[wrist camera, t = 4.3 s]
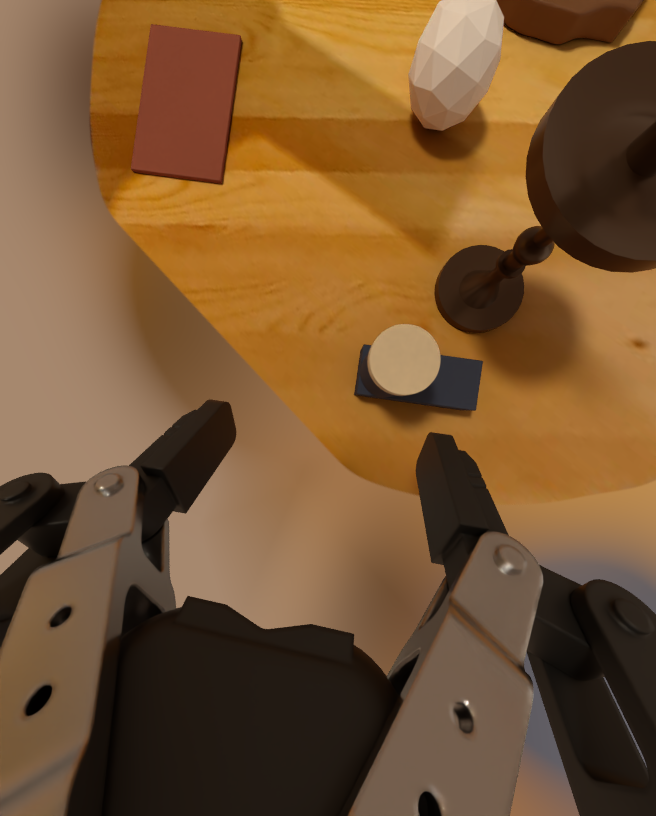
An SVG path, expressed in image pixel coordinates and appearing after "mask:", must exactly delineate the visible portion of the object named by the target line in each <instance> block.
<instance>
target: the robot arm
mask: <svg viewBox="0 0 656 816" xmlns="http://www.w3.org/2000/svg"><path fill="white" fill-rule="evenodd" d="M235 438H236V427H235V423H234V418H233V414H232V409H231V406H230V404H229V403H228V402H224V401H217V400H207V401H206V402H205V403H204V404H203V405H202V406H201V407H200V408H199V409H198V410H194V411H192V412H190V413H188V414H186V415H184V416H182V417H181V418H180V419H179V420H178V421H177V422H176V423H174V424H173V426H172V428H171V427H170V428H169V429H168V430H167V431H166V432H165V433H164V435H162V436H161V437H159V439H157V440H156V441H155V442H154V443H153V444H152V445H151V446H150V447H149V448H148V449H146V450H145V451H144V452H143V453H142V454H141V455H140V456H139V457H138V458H137V459H136V460H135V461H133V462H132V463H131V464H130V465H129V466H117V467H113V468H110V469H107V470H105V471H103V472H100V473H98V474H97V475H95V476H93V477H92V478H91V479H89V480H88V481H87V482H79V483H68V484H59V483H58V482H57V481H56V480H55V479H54V478H53V477H52V476H51V475H50V474H47V473H34V474H29V475H25V476H22V477H19V478H16V479H14V480H11V481H9V482H7V483H6V484H4V485H2V486H0V554H2V553H3V552H4V551H5V550H6V549H7V548H8V547H9V546H11V545H12V544H13V543H14V542H15V541H16V540H18V541H20V542H21V543H23V544H24V545H26V546H27V547H28V548H29V549H28V550H26V551H25V552H24V553H23V554H22V555H21V556H20V557H19V558H18V559H17V560H16V561H15V562H14V563H13V564H12V565H11V566H10V567H8V568H7V569H6V570H5V571H4V572H3V573H2V574H1V575H0V816H510V811H511V806H512V801H513V796H514V792H515V787H516V782H517V777H518V772H519V767H520V762H521V757H522V752H523V747H524V742H525V737H526V732H527V727H528V722H529V717H530V713H531V707H532V702H533V683H532V680H531V677H530V676H529V675H528V674H527V673H526V672H525V669H524V660H525V655H526V651H527V654H528V657H529V660H530V664H531V667H532V670H533V673H534V676H535V679H536V682H537V685H538V688H539V691H540V694H541V697H542V701H543V704H544V707H545V710H546V713H547V716H548V719H549V722H550V725H551V728H552V731H553V734H554V738H555V741H556V744H557V747H558V750H559V753H560V756H561V759H562V762H563V765H564V768H565V771H566V774H567V778H568V781H569V784H570V787H571V790H572V793H573V796H574V799H575V802H576V805H577V809H578V812H579V815H580V816H656V614H655V613H654V612H653V611H652V610H651V609H650V608H649V607H648V606H647V605H645V604H644V603H643V602H642V601H641V600H639V599H638V598H637V597H635V596H634V595H633V594H632V593H630V592H629V591H627V590H625V589H624V588H622V587H620V586H618V585H616V584H614V583H612V582H608V581H605V580H600V579H598V580H592V581H589V582H588V583H586V584H584V585H580V584H578V583H576V582H574V581H572V580H569V579H567V578H565V577H563V576H561V575H559V574H557V573H555V572H553V571H550V570H548V569H546V568H544V567H542V566H541V565H539V564H538V562H537V561H536V559H535V558H534V556H533V555H532V554H531V553H530V552H529V551H528V549H527V548H525V547H524V546H523V545H522V544H521V543H520V542H518V541H517V540H515V539H514V538H512V537H510V536H509V535H508V533H507V531H506V529H505V526H504V524H503V522H502V520H501V518H500V515H499V513H498V511H497V509H496V506H495V504H494V502H493V500H492V498H491V495H490V493H489V491H488V489H486V484H485V482H484V480H483V478H481V476H482V475H481V473H480V471H479V469H478V466H477V464H476V462H475V461H474V460H473V459H472V458H471V457H470V456H469V455H468V454H467V453H466V452H465V451H461V450H458V448H457V446H456V443H455V440H454V438H453V436H451V435H446V434H439V433H432V432H430V433H429V434H428V435H427V438H426V440H425V443H424V445H423V447H422V450H421V452H420V455H419V457H418V460H417V464H416V477H417V483H418V488H419V494H420V500H421V505H422V511H423V516H424V522H425V528H426V534H427V540H428V545H429V551H430V556H431V562H432V563H436V564H441V565H444V567H445V573H446V576H445V578H444V579H443V581H442V583H441V585H440V586H439V589H438V590H437V592H436V594H435V595H434V597H433V599H432V601H431V603H430V604H429V606H428V608H427V610H426V612H425V613H424V615H423V617H422V619H421V621H420V623H419V624H418V626H417V628H416V630H415V631H414V633H413V634H412V636H411V637H410V639H409V640H408V642H407V643H406V644H405V646H404V647H403V649H402V651H401V653H400V654H399V656H398V657H397V659H396V661H395V663H394V665H393V666H392V668H391V670H390V671H389V673H388V675H387V676H386V675H385V674H384V673H383V671H382V670H381V668H380V667H379V666H378V665H377V664H376V663H375V662H374V661H373V660H372V658H370V657H369V656H368V655H367V654H366V653H365V652H363V651H362V650H361V649H359V648H358V647H356V646H355V645H354V644H353V643H354V634H352V633H348V632H343V631H338V630H334V629H330V628H326V627H321V626H317V625H313V624H309V625H300V626H292V627H284V628H275V629H262V628H260V627H259V626H257V625H256V624H254V623H253V622H251V621H250V620H248V619H247V618H245V617H244V616H242V615H241V614H239V613H238V612H236V611H235V610H233V609H232V608H230V607H229V606H228V605H225V604H221V603H216V602H212V601H208V600H203V599H199V598H195V597H190V596H188V597H187V598H186V600H185V602H184V604H183V606H182V607H180V608H176V601H175V594H174V590H173V587H172V584H171V580H170V573H169V572H170V571H169V521H168V519H167V518H168V517H169V516H170V514H171V513H172V511H175V512H181V513H187V511H188V510H189V508H190V507H191V505H192V504H193V502H194V501H195V499H196V498H197V497H198V495H199V494H200V492H201V491H202V489H203V488H204V486H205V485H206V483H207V482H208V480H209V479H210V477H211V476H212V475H213V473H214V472H215V470H216V469H217V467H218V466H219V464H220V463H221V461H222V460H223V458H224V457H225V456H226V454H227V453H228V451H229V450H230V448H231V447H232V445H233V443H234V441H235ZM603 677H605V678H606V680H607V682H608V684H609V686H610V688H611V690H612V692H613V694H614V696H615V698H616V700H617V703H618V705H619V706H620V709H621V711H622V712H623V715H624V717H625V719H626V721H627V723H628V725H629V727H630V729H631V731H632V733H633V735H634V738H635V740H636V742H637V744H638V746H639V748H640V750H641V752H642V754H643V757H644V759H645V762H646V765H647V768H646V766H645V763H644V761H643V759H642V757H641V755H640V753H639V751H638V749H637V747H636V745H635V743H634V741H633V738H632V737H631V734H630V732H629V730H628V728H627V726H626V724H625V722H624V720H623V718H622V716H621V714H620V712H619V709H618V707H617V705H616V703H615V701H614V699H613V697H612V695H611V693H610V690H609V688H608V686H607V684H606V682H605V680H604V678H603ZM647 769H648V770H647Z"/></svg>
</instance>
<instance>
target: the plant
mask: <svg viewBox="0 0 656 816" xmlns="http://www.w3.org/2000/svg"><path fill="white" fill-rule="evenodd" d="M642 2H643V0H497V3H498V5H499V7H500V9H501V12H502V14H503V16H504V22H505V24H506V25H507V26H509V27H510V28H512V29H513V30H515V31H517V32H519V33H521V34H523V35H527V36H531V37H535V38H538V39H541V40H544V41H547V42H550V43H553V44H562V43H565V42H567V41H570V40H572V39H576V38H589V39H594V40H601V41H605V42H610V43H611V42H612V41H613V40H614V39H615V38H616V36H617V35H618V34H619V32H620V31H621V30H622V28H623V27H624V26H625V25H626V23H627V22H628V21H629V19H630V18H631V17H632V15H633V14H634V13H635V12H636V10H637V9H638V8H639V6H640V5H641V3H642Z"/></svg>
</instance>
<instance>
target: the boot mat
mask: <svg viewBox="0 0 656 816" xmlns="http://www.w3.org/2000/svg"><path fill="white" fill-rule="evenodd" d="M241 42H242V40H241V36H240V35H233V34H225V33H217V32H209V31H201V30H193V29H185V28H177V27H169V26H161V25H153V24H151V28H150V35H149V42H148V49H147V57H146V64H145V71H144V78H143V86H142V93H141V100H140V107H139V115H138V122H137V129H136V136H135V143H134V151H133V158H132V165H131V169H132V171H133V172H136V173H144V174H152V175H159V176H167V177H174V178H182V179H189V180H197V181H205V182H212V183H220V184H222V178H223V171H224V164H225V157H226V150H227V143H228V135H229V128H230V121H231V114H232V107H233V100H234V93H235V85H236V78H237V71H238V64H239V57H240V50H241Z"/></svg>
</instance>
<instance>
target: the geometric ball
mask: <svg viewBox="0 0 656 816" xmlns="http://www.w3.org/2000/svg"><path fill="white" fill-rule="evenodd" d="M503 24H504V16H503V14H502V12H501V9H500V7H499V5H498V3H497V0H442V1H440V2H439V3H438V5H437V7H436V9H435V11H434V12H433V14H432V16H431V18H430V20H429V22H428V24H427V26H426V28H425V30H424V32H423V33H422V35H421V37H420V39H419V41H418V45H417V48H416V51H415V55H414V58H413V61H412V65H411V68H410V71H409V88H410V101H411V109H412V111H413V112H414V114H415V115H416V117H417V118H418V120H419V121H420V123H421V124H422V126H423V127H424V128H427V129H434V130H441V131H443V130H445V129H447V128H449V127H451V126H454V125H456V124H458V123H460V122H463V121H464V120H465V119H466V118H467V117H468V115H469V114H470V113H471V112H472V110H473V109H474V108H475V107H476V105H477V104H478V103H479V102H480V100H481V99H482V98H483V97H484V96H485V94H486V93H487V91H488V89H489V86H490V84H491V81H492V79H493V76H494V74H495V71H496V69H497V66H498V64H499V61H500V56H501V45H502V34H503Z"/></svg>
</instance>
